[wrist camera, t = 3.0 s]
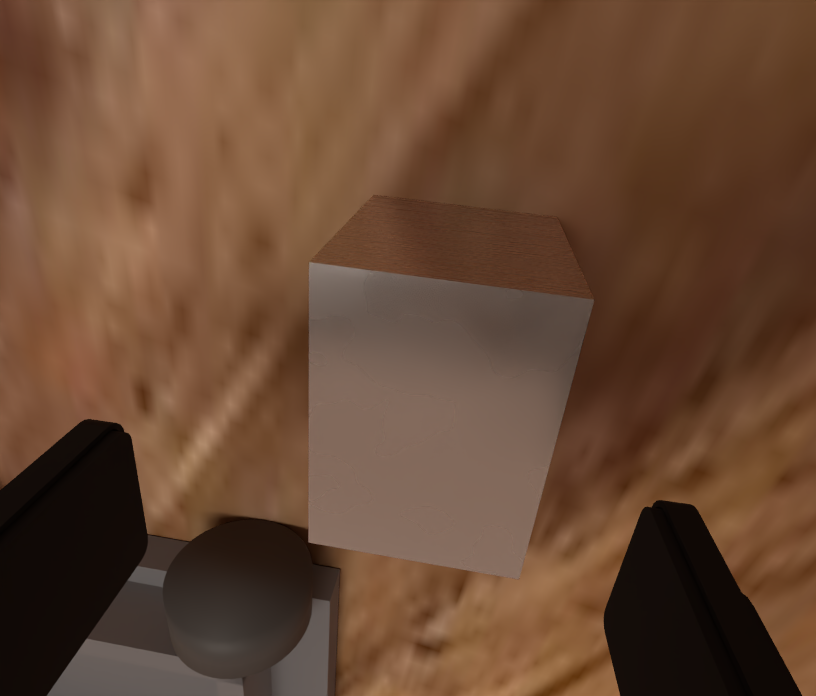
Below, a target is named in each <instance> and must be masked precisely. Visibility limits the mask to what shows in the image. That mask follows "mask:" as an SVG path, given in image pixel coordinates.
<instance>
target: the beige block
mask: <svg viewBox="0 0 816 696" xmlns="http://www.w3.org/2000/svg"><path fill="white" fill-rule="evenodd" d="M593 303H594V298H593V296H592V293H591V291H590V289H589V287H588V285H587V282H586V280H585V278H584V276H583V273H582V271H581V269H580V267H579V264H578V262H577V260H576V258H575V256H574V253H573V251H572V249H571V247H570V244H569V242H568V240H567V238H566V236H565V233H564V231H563V229H562V227H561V224H560V222H559V220H558V218H557V217H553V216H545V215H536V214H528V213H520V212H511V211H503V210H495V209H486V208H478V207H470V206H461V205H453V204H445V203H437V202H428V201H420V200H412V199H403V198H395V197H387V196H378V195H373V196H372V197H371V198H370V199H369V200H368V201H367V202H366V203H365V204H364V205H363V206H362V207H361V208H360V209H359V211H358V212H357V213H356V214H355V215H354V216H353V217H352V218H351V219H350V220H349V221H348V222H347V223H346V224H345V225H344V226H343V227H342V228H341V229H340V230H339V231H338V232H337V234H336V235H335V236H334V237H333V238H332V239H331V240H330V241H329V242H328V243H327V244H326V245H325V246H324V247H323V248H322V249H321V250H320V251H319V252H318V253H317V254H316V255H315V256H314V258H313V259H312V260H311V261H310V262H309V530H308V543H314V544H320V545H325V546H331V547H337V548H342V549H348V550H354V551H360V552H365V553H371V554H377V555H382V556H388V557H394V558H400V559H405V560H411V561H417V562H422V563H428V564H434V565H440V566H445V567H451V568H457V569H462V570H468V571H474V572H479V573H485V574H491V575H497V576H502V577H508V578H514V579H519V577H520V574H521V570H522V566H523V562H524V559H525V555H526V551H527V548H528V544H529V540H530V537H531V533H532V529H533V525H534V522H535V518H536V514H537V511H538V507H539V503H540V499H541V496H542V492H543V488H544V485H545V481H546V477H547V473H548V470H549V466H550V462H551V459H552V455H553V451H554V448H555V444H556V440H557V436H558V433H559V429H560V425H561V422H562V418H563V414H564V410H565V407H566V403H567V399H568V396H569V392H570V388H571V384H572V381H573V377H574V373H575V370H576V366H577V362H578V358H579V355H580V351H581V347H582V344H583V340H584V336H585V333H586V329H587V325H588V321H589V318H590V314H591V310H592V307H593Z"/></svg>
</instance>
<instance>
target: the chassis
mask: <svg viewBox="0 0 816 696" xmlns="http://www.w3.org/2000/svg"><path fill="white" fill-rule="evenodd" d="M339 579H340V569H336V568H330V567H325V566H319V565H313V564H312V559H311V555H310V552H309V550H308V548H307V546H306V544H305V543H304V541H303V540H302V539H301V538H300V537H299V536H298V535H297V534H296V533H295V532H293V531H292V530H290V529H289V528H287V527H285V526H283V525H280V524H277V523H274V522H270V521H265V520H239V521H233V522H229V523H225V524H222V525H219V526H217V527H214V528H212V529H210V530H208V531H206V532H204V533H202V534H200V535H199V536H197V537H196V538H194V539H193V540H192V541H190V542H185V541H179V540H174V539H168V538H162V537H157V536H151V535H148V546H147V550H146V553H145V555H144V557H143V559H142V560H141V562H140V563H139V565H138V566H137V568H136V569H135V570H134V572H133V573H132V575H131V576H130V578H129V579H128V580H127V582H126V583H125V585H124V586H123V588H122V589H121V590H120V592H119V593H118V595H117V596H116V598H115V599H114V600H113V602H112V603H111V605H110V606H109V608H108V609H107V610H106V612H105V613H104V615H103V616H102V618H101V619H100V620H99V622H98V623H97V625H96V626H95V628H94V629H93V630H92V632H91V633H90V635H89V636H88V638H87V639H86V640H85V642H84V643H83V645H82V646H81V648H80V649H79V650H78V652H77V653H76V655H75V656H74V658H73V659H72V660H71V662H70V663H69V665H68V666H67V668H66V669H65V670H64V672H63V673H62V675H61V676H60V678H59V679H58V680H57V682H56V683H55V685H54V686H53V688H52V689H51V690H50V692H49V693H48V695H47V696H335V677H336V652H337V628H338V603H339Z"/></svg>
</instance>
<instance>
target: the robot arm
mask: <svg viewBox="0 0 816 696" xmlns="http://www.w3.org/2000/svg"><path fill="white" fill-rule="evenodd" d="M147 546H148V535H147V529H146V523H145V517H144V511H143V505H142V499H141V493H140V487H139V481H138V475H137V469H136V463H135V457H134V451H133V445H132V439H131V436H130V435H129V434H128V433H126V432H124V429H123V427H122V426H121V425H120V424H118V423H112V422H105V421H98V420H91V419H87V420H84V421H82V422H80V423H79V424H78V425H77V426H75V427H74V428H73V429H72V430H71V431H70V432H68V433H67V434H66V435H65V436H64V437H62V438H61V439H60V440H59V441H58V442H57V443H55V444H54V445H53V446H52V447H51V448H50V449H48V450H47V451H46V452H45V453H44V454H43V455H41V456H40V457H39V458H38V459H37V460H35V461H34V462H33V463H32V464H31V465H30V466H28V467H27V468H26V469H25V470H24V471H23V472H21V473H20V474H19V475H18V476H17V477H16V478H14V479H13V480H12V481H11V482H10V483H9V484H7V485H6V486H5V487H4V488H3V489H1V490H0V696H47V695H48V693H49V692H50V690H51V689H52V688H53V686H54V685H55V683H56V682H57V680H58V679H59V678H60V676H61V675H62V673H63V672H64V670H65V669H66V668H67V666H68V665H69V663H70V662H71V660H72V659H73V658H74V656H75V655H76V653H77V652H78V650H79V649H80V648H81V646H82V645H83V643H84V642H85V640H86V639H87V638H88V636H89V635H90V633H91V632H92V630H93V629H94V628H95V626H96V625H97V623H98V622H99V620H100V619H101V618H102V616H103V615H104V613H105V612H106V610H107V609H108V608H109V606H110V605H111V603H112V602H113V600H114V599H115V598H116V596H117V595H118V593H119V592H120V590H121V589H122V588H123V586H124V585H125V583H126V582H127V580H128V579H129V578H130V576H131V575H132V573H133V572H134V570H135V569H136V568H137V566H138V565H139V563H140V562H141V560H142V559H143V557H144V555H145V553H146V550H147ZM604 630H605V635H606V639H607V643H608V647H609V651H610V655H611V659H612V663H613V667H614V672H615V676H616V680H617V684H618V688H619V692H620V696H802V694H801V692H800V691H799V689H798V687H797V685H796V683H795V681H794V680H793V678H792V676H791V674H790V672H789V670H788V668H787V667H786V665H785V663H784V661H783V659H782V657H781V656H780V654H779V652H778V650H777V648H776V646H775V645H774V643H773V641H772V639H771V637H770V635H769V633H768V632H767V630H766V628H765V626H764V624H763V622H762V621H761V619H760V617H759V615H758V613H757V611H756V610H755V608H754V606H753V605H752V603H751V602H750V600H749V599H748V597H746V596H745V595H744V594H743V593H741V591H740V589H739V587H738V585H737V583H736V581H735V580H734V578H733V576H732V574H731V572H730V570H729V568H728V566H727V565H726V563H725V561H724V559H723V557H722V555H721V553H720V551H719V550H718V548H717V546H716V544H715V542H714V540H713V538H712V536H711V535H710V533H709V531H708V529H707V527H706V525H705V523H704V521H703V520H702V518H701V516H700V514H699V512H698V510H697V509H696V508H695V507H694V506H693V505H690V504H683V503H676V502H669V501H662V500H658V501H656V502H655V503H654V504H653V506H652V508H651V507H645V508H644V509H643V510H642V512H641V514H640V517H639V519H638V522H637V525H636V528H635V530H634V533H633V536H632V538H631V541H630V544H629V546H628V549H627V552H626V554H625V557H624V560H623V563H622V565H621V568H620V571H619V573H618V576H617V579H616V581H615V584H614V587H613V589H612V592H611V595H610V598H609V600H608V603H607V606H606V608H605V612H604Z"/></svg>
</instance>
